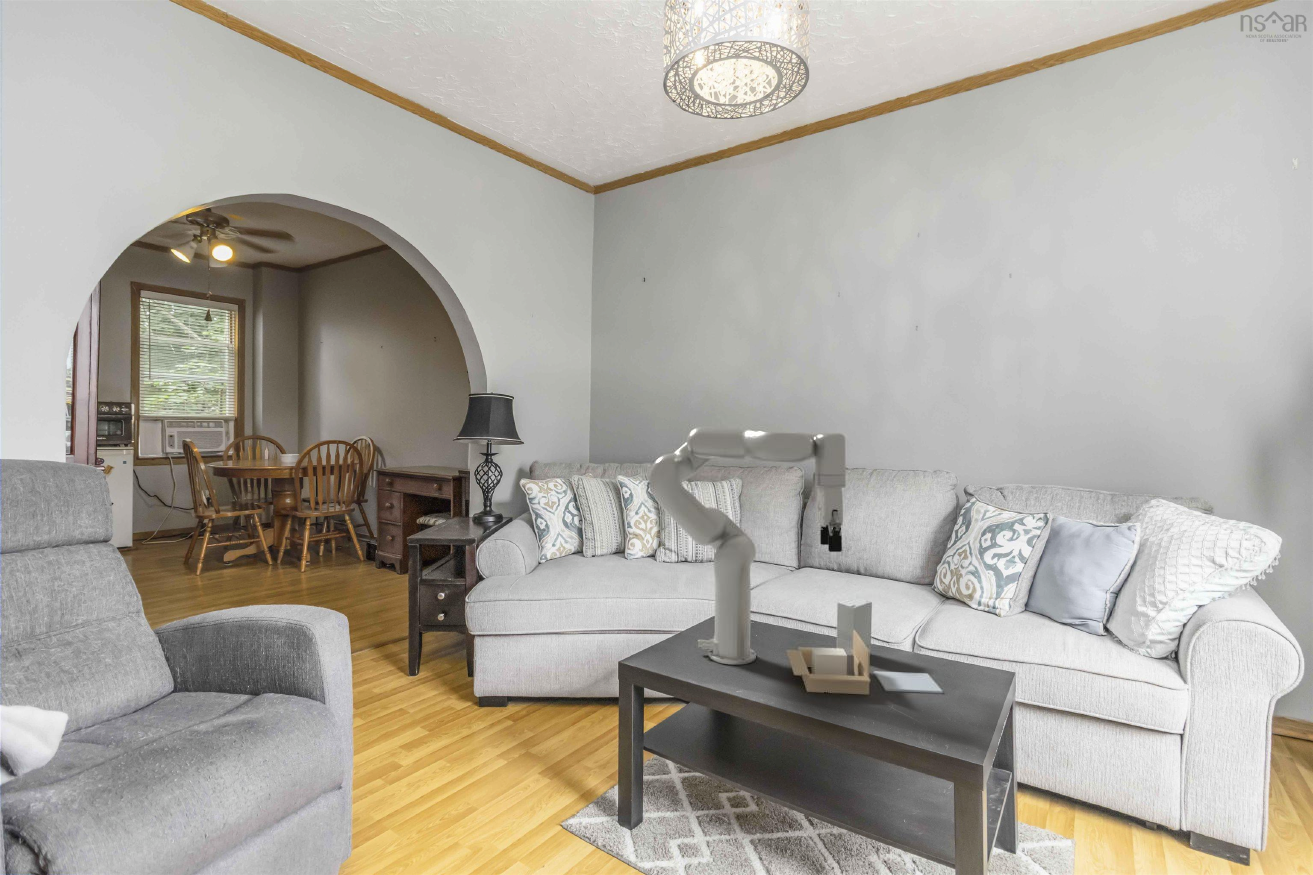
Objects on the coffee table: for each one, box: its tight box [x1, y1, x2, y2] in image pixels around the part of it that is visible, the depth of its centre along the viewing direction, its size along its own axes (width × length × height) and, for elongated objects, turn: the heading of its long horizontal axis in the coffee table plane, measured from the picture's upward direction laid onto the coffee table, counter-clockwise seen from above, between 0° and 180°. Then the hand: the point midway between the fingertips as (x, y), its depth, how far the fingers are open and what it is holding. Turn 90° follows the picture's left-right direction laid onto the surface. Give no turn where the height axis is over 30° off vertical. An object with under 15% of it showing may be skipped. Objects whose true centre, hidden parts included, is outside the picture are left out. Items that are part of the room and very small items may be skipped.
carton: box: [786, 630, 871, 695], centre depth 162 cm, size 17×21×10 cm
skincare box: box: [836, 596, 873, 655], centre depth 179 cm, size 8×6×15 cm
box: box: [811, 647, 855, 676], centre depth 162 cm, size 9×5×7 cm, turn 85°
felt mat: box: [873, 670, 943, 694], centre depth 160 cm, size 13×11×1 cm
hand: (830, 547), depth 169 cm, fingers open, 9 cm apart
